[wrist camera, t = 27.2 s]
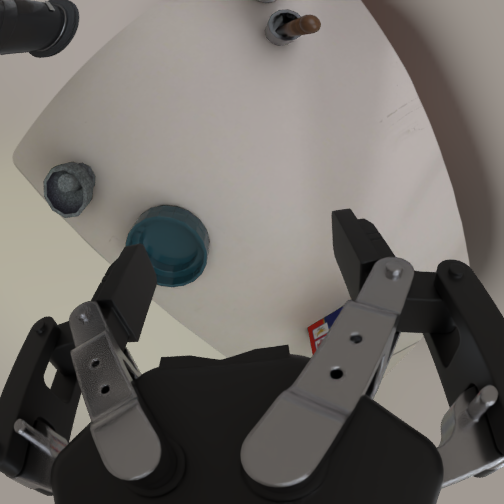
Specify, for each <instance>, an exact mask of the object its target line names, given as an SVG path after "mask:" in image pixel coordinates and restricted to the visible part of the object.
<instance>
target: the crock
mask: <svg viewBox="0 0 504 504" xmlns="http://www.w3.org/2000/svg"><path fill="white" fill-rule="evenodd" d="M300 17H301V16H300V15H299V14H298V13H296V12H294V11H291V10H288V9H287V10H278V11H277V12H275V13H274V14H272V15H271V17H270V19H269V22H268V24H267V26H266V29H265V35H266V38H267V39H268V40H269V41H270V42H271V43H272V44H274V45H278V46H284V45H288V44H289V43H291V42H292V41H294V40H295V39H297V38H298V37H300V36H301V35H298V36H292V37H283V36H280V35H278V34H277V33H276V32H275V31H276V29H277V28H278V27H280V26H282V25H284V24H286V23H289V22H291V21H293V20H295V19H298V18H300Z"/></svg>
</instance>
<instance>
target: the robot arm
mask: <svg viewBox="0 0 504 504" xmlns="http://www.w3.org/2000/svg"><path fill="white" fill-rule="evenodd" d="M67 23H68V15H67V11H66V10H65V8H64V7H63V6H61V5H58V4H50V2H48V1H45V3H44V2H38V1H31V0H0V54H1V55H4V54H13V53H24V52H33V51H45V50H48V49H50V48H52V47H53V46H54V45H56V44H57V43H58V41H59V40H60V39H61V38H62V36H63V34H64V32H65V30H66V27H67ZM332 234H333V249H334V255H335V258H336V261H337V263H338V266H339V268H340V271H341V273H342V276H343V278H344V281H345V283H346V286H347V289H348V291H349V294H350V296H351V299H352V300H348V301H347V302H346V304H345V305H344V307H343V308H342V310H341V312H340V313H339V315H338V317H337V318H336V320H335V322H334V323H333V325H332V326H331V328H330V330H329V331H328V333H327V334H326V336H325V338H324V339H323V341H322V342H321V344H320V345H319V347H318V348H317V350H316V351H315V353H314V354H313V356H312V357H311V358H309V357H305V356H301V355H293V354H290V353H289V346H288V345H283V346H276V347H268V348H261V349H254V350H251V351H248V352H245V353H242V354H239V355H236V356H233V357H229V358H226V359H223V360H217V359H210V358H202V357H196V356H175V357H161V361H160V365H159V367H157V368H154V369H152V370H150V371H147V372H145V373H144V374H141V372H140V370H139V369H138V367H137V365H136V363H135V361H134V359H133V358H132V356H131V354H130V352H129V351H128V349H127V347H126V344H127V342H138V340H139V337H140V334H141V331H142V328H143V325H144V322H145V318H146V315H147V312H148V309H149V306H150V303H151V300H152V297H153V294H154V291H155V288H156V285H157V277H156V273H155V270H154V268H153V266H152V263H151V261H150V259H149V256H148V254H147V252H146V249H145V247H144V246H143V245H142V244H135V245H130V246H126V247H124V249H123V251H122V252H121V254H120V256H119V258H118V259H117V260H116V261H115V262H114V263H113V264H112V265H111V266H110V267H109V268H108V270H107V272H106V274H105V276H104V277H103V279H102V282H101V283H100V285H99V286H98V288H97V290H96V292H95V294H94V296H93V298H92V300H91V301H88V302H85V303H82V304H81V305H79V306H78V307H77V308H75V309H74V310H73V312H72V313H71V315H70V318H69V321H68V322H65V323H62V324H59V325H57V323H56V322H55V321H54V319H53V318H52V317H44V318H42V319H40V320H39V321H37V322H36V323H35V324H34V325H33V327H32V328H31V330H30V332H29V334H28V336H27V338H26V340H25V342H24V344H23V346H22V348H21V350H20V352H19V354H18V357H17V359H16V361H15V363H14V365H13V368H12V370H11V372H10V375H9V377H8V379H7V382H6V384H5V387H4V389H3V392H2V395H1V397H0V471H1V472H2V473H4V474H5V475H6V476H7V477H9V478H11V479H13V480H15V481H17V482H18V483H20V484H22V485H24V486H26V487H28V488H30V489H34V490H36V491H38V492H40V493H43V494H45V495H47V496H52V495H53V496H54V501H55V504H436V502H437V499H438V496H439V493H440V490H441V489H442V488H444V487H447V486H450V485H452V484H455V483H457V482H460V481H462V480H465V479H467V478H469V477H471V476H474V477H479V478H480V477H485V476H487V475H489V474H491V473H493V472H495V471H496V470H498V469H499V468H501V467H503V466H504V318H503V316H502V314H501V313H500V311H499V310H498V308H497V307H496V305H495V303H494V302H493V300H492V298H491V297H490V295H489V294H488V292H487V291H486V290H485V288H484V286H483V285H482V283H481V282H480V280H479V279H478V278H477V276H476V275H475V273H474V272H473V271H472V269H471V268H470V267H469V266H468V265H466V264H465V263H463V262H461V261H457V260H445V261H442V262H441V263H440V264H439V265H438V267H437V271H436V272H419V271H414V268H413V266H412V265H411V264H410V263H409V262H408V261H406V260H404V259H401V258H398V257H395V255H394V254H393V252H392V251H391V249H390V248H389V246H388V245H387V243H386V242H385V240H384V239H383V238H382V236H381V234H380V233H379V232H378V230H377V229H376V227H375V226H374V224H372V223H371V222H369V221H368V220H366V219H357V218H356V216H355V215H354V213H353V212H352V210H351V209H343V210H336V211H332ZM401 332H413V333H423V335H424V338H425V340H426V342H427V345H428V348H429V350H430V353H431V355H432V358H433V360H434V363H435V366H436V369H437V371H438V374H439V377H440V380H441V383H442V386H443V388H444V391H445V394H446V398H447V401H448V404H449V406H450V409H449V410H448V411H447V413H446V414H445V415H444V417H443V419H442V422H441V442H440V445H439V447H437V448H436V447H435V445H434V444H433V443H432V442H431V441H430V440H429V439H428V438H427V437H425V436H424V435H422V434H421V433H420V432H418V431H417V430H415V429H414V428H412V427H411V426H409V425H408V424H407V423H405V422H404V421H402V420H401V419H399V418H398V417H397V416H395V415H394V414H392V413H391V412H389V411H388V410H386V409H385V408H384V407H382V406H381V405H379V404H378V403H377V402H375V401H374V400H373V399H374V396H375V394H376V392H377V390H378V388H379V385H380V383H381V380H382V378H383V375H384V373H385V370H386V368H387V365H388V363H389V361H390V358H391V356H392V354H393V351H394V349H395V346H396V344H397V341H398V339H399V336H400V334H401ZM49 361H50V362H51V363H52V365H53V366H54V367H55V368H56V369H57V372H56V375H55V378H54V380H53V383H52V386H51V389H49V388H48V387H47V386H46V384H45V382H44V373H45V370H46V368H47V365H48V362H49ZM81 392H82V395H83V398H84V401H85V404H86V407H87V410H88V413H89V415H90V418H91V422H90V423H89V424H88V425H87V427H85V428H84V429H83V430H82V431H81V432H80V433H79V434H78V435H77V436H76V437H75V438H74V439H73V440H72V441H71V442H70V443H69V440H70V435H71V430H72V427H73V422H74V418H75V414H76V410H77V407H78V403H79V399H80V395H81Z"/></svg>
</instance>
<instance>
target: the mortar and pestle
mask: <svg viewBox="0 0 504 504" xmlns="http://www.w3.org/2000/svg"><path fill="white" fill-rule="evenodd" d="M94 186H95V174H94V173H93V171H92V169H91V167H89V166H88V165H86V164H84V163H79V164H77V163H74V162H69V163H65V164H61V165H58V166H55V167H53V168H52V169H51V170H50V171H49V173H48V175H47V176H46V178H45V180H44V197H45V199H46V201H47V202H48V204H49V206H50V207H51V209H52V210H53V211H55V212H56V213H58V214H59V215H61V216H63V217H65V218H68V217H76V216H79V215H80V214H81V213H82V211H83V210H84V209H85V208H86V206H87V205H88V204H89V203H90V201H91V199H92V194H93V187H94Z"/></svg>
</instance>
